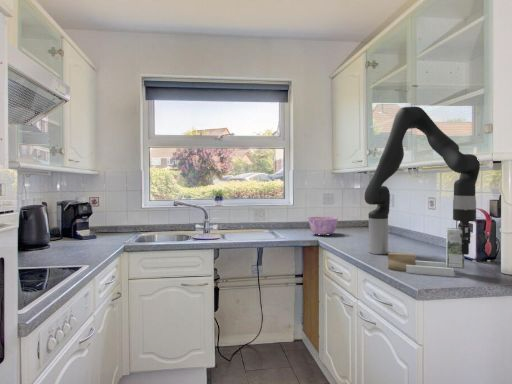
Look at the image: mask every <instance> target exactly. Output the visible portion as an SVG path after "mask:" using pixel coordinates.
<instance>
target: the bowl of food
mask: <svg viewBox="0 0 512 384" xmlns="http://www.w3.org/2000/svg"><path fill="white" fill-rule="evenodd" d="M307 219H308V223H309V227H310V230H311V232H312V233H313V234H315V235H317V234H320V235H327V234H329V235H331V234H333V233H334V232H335V231H336V229H337V224H338V220H339V218H338V217H333V216H311V217H307Z"/></svg>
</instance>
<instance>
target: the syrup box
mask: <svg viewBox="0 0 512 384" xmlns="http://www.w3.org/2000/svg"><path fill="white" fill-rule="evenodd" d="M445 233H446V235H445V236H446V240H445V241H446V242H445V244H446V245H445V247H446V249H445V251H446V253H445V254H446V255H445V263H446V265H447V267H450V268H454V269H461V270H462V269H465V255H464V254H462V243H461V238H460V233H461V234H462V230H459V228H458V227H455V228H454V227H446V231H445Z"/></svg>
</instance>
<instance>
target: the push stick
mask: <svg viewBox="0 0 512 384" xmlns="http://www.w3.org/2000/svg"><path fill="white" fill-rule="evenodd" d="M387 257H388V258H387V265H388V266H387V267H388V268H387V269H388V270H393V269H396V270H406V265H416V261H417V259H416V254H415V253H398V252H388V253H387Z"/></svg>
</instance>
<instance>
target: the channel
mask: <svg viewBox="0 0 512 384" xmlns="http://www.w3.org/2000/svg"><path fill="white" fill-rule="evenodd" d="M392 271H395V272H405V273H406V274H407V273H408V274H417V275H418V274H419V275H430V276H442V277H443V276H444V277H453V278H454V276H455V273H454V271H455V268H450V267H447V265H446V261H445V262H441V261H428V260H426V261H425V260H416V265H406V270H396V269H392Z"/></svg>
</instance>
